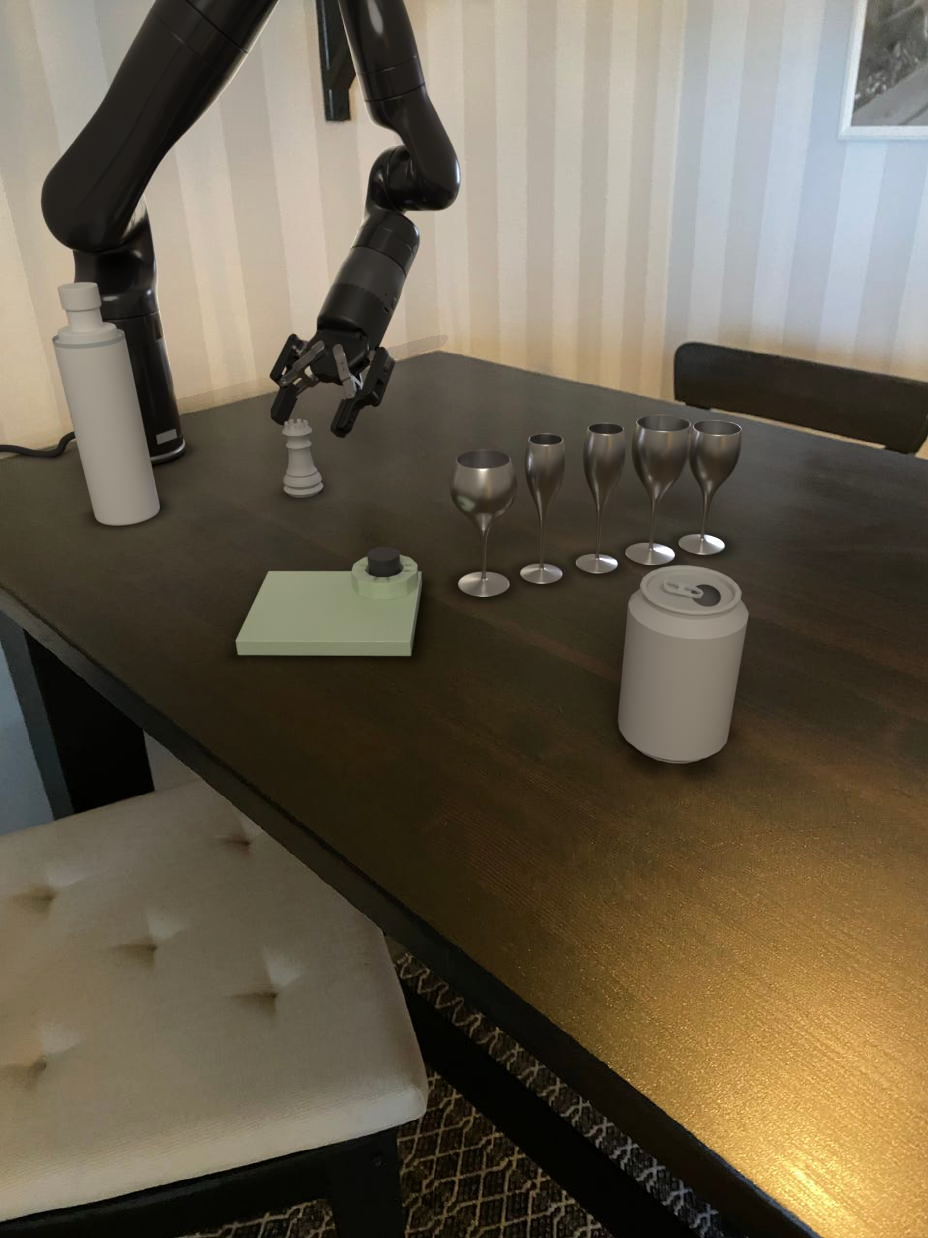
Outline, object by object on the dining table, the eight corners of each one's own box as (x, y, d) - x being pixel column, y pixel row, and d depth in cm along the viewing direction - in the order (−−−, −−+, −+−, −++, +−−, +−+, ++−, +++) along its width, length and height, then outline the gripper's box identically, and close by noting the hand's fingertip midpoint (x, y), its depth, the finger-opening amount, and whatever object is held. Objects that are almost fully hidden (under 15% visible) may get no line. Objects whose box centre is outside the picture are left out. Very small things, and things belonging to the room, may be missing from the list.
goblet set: (706, 529, 91) (723, 401, 84) (738, 553, 87) (760, 419, 80) (443, 576, 84) (439, 438, 77) (464, 605, 79) (462, 461, 72)
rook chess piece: (291, 501, 99) (282, 431, 95) (278, 488, 102) (270, 419, 98) (329, 494, 101) (322, 424, 97) (316, 480, 104) (309, 413, 100)
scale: (237, 655, 72) (232, 623, 71) (271, 582, 83) (266, 553, 81) (411, 656, 72) (409, 624, 70) (422, 582, 83) (421, 553, 81)
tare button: (366, 579, 78) (365, 561, 77) (370, 564, 80) (369, 546, 79) (399, 579, 78) (398, 561, 77) (402, 564, 80) (401, 546, 79)
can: (729, 777, 59) (757, 620, 53) (613, 764, 60) (627, 608, 54) (724, 710, 65) (748, 562, 59) (619, 699, 66) (632, 553, 60)
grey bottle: (166, 499, 100) (119, 260, 87) (151, 524, 94) (99, 273, 82) (105, 501, 100) (49, 262, 87) (87, 527, 94) (23, 274, 81)
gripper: (295, 274, 102) (238, 401, 99) (398, 285, 95) (340, 421, 93) (329, 314, 108) (277, 434, 106) (428, 326, 102) (374, 454, 99)
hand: (306, 428), depth 99 cm, fingers open, 8 cm apart
